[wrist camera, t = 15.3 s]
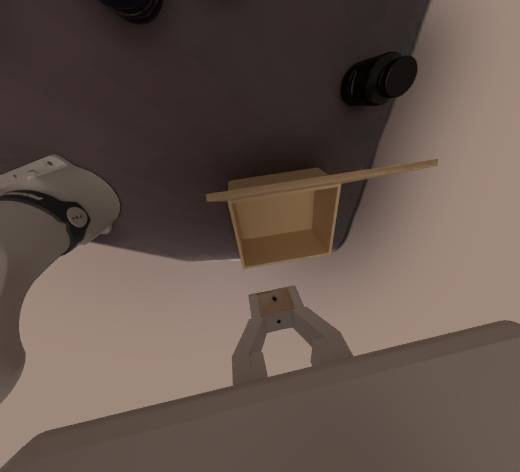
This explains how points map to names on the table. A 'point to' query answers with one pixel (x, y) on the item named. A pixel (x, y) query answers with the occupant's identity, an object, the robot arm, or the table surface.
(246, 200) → the carton
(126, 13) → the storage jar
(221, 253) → the table surface
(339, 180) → the flap
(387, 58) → the supplement bottle
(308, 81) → the table surface
